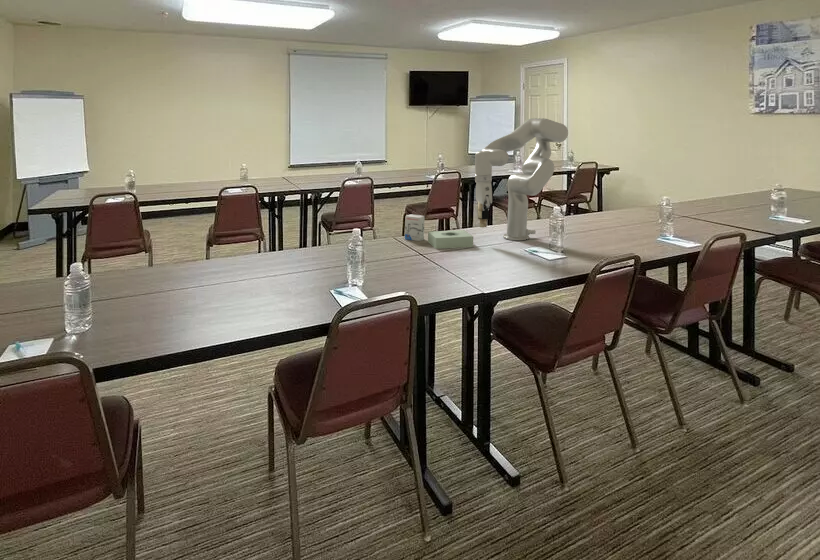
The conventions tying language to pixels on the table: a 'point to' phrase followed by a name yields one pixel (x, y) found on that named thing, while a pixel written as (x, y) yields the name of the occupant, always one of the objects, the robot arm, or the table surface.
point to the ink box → (414, 227)
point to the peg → (482, 221)
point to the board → (450, 239)
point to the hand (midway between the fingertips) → (483, 217)
